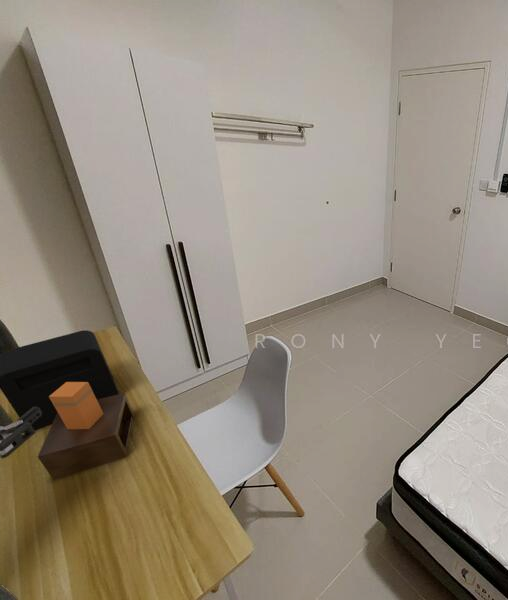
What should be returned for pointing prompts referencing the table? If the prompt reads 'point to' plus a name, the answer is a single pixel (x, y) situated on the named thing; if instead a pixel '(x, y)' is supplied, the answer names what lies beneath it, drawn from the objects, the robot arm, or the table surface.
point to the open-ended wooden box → (88, 440)
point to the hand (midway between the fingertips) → (15, 409)
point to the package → (76, 405)
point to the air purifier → (53, 372)
